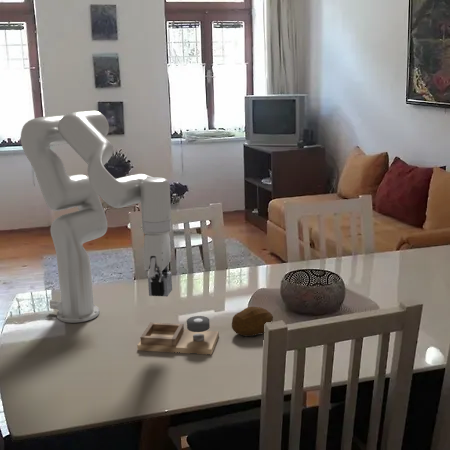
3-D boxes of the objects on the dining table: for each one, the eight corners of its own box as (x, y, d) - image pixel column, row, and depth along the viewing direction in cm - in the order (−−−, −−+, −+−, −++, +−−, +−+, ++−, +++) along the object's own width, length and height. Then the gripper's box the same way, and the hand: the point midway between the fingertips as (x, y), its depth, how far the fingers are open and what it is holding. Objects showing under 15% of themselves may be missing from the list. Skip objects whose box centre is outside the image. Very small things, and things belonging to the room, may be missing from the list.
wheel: (184, 331, 162) (184, 324, 162) (189, 322, 168) (189, 315, 168) (207, 332, 161) (207, 325, 161) (211, 323, 167) (211, 316, 167)
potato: (226, 332, 173) (225, 307, 171) (263, 323, 179) (263, 298, 177) (241, 343, 166) (240, 317, 164) (279, 333, 172) (279, 307, 170)
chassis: (137, 350, 163) (136, 338, 162) (149, 332, 174) (148, 321, 173) (211, 354, 160) (211, 342, 159) (218, 336, 171) (218, 324, 170)
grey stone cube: (149, 295, 162) (148, 277, 161) (154, 289, 167) (153, 271, 165) (167, 296, 161) (166, 278, 160) (172, 289, 166) (171, 272, 164)
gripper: (152, 217, 168) (155, 280, 172) (133, 234, 152) (137, 303, 156) (178, 217, 167) (181, 281, 171) (162, 235, 150) (166, 304, 155)
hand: (160, 290), depth 164 cm, fingers closed on grey stone cube, 5 cm apart
